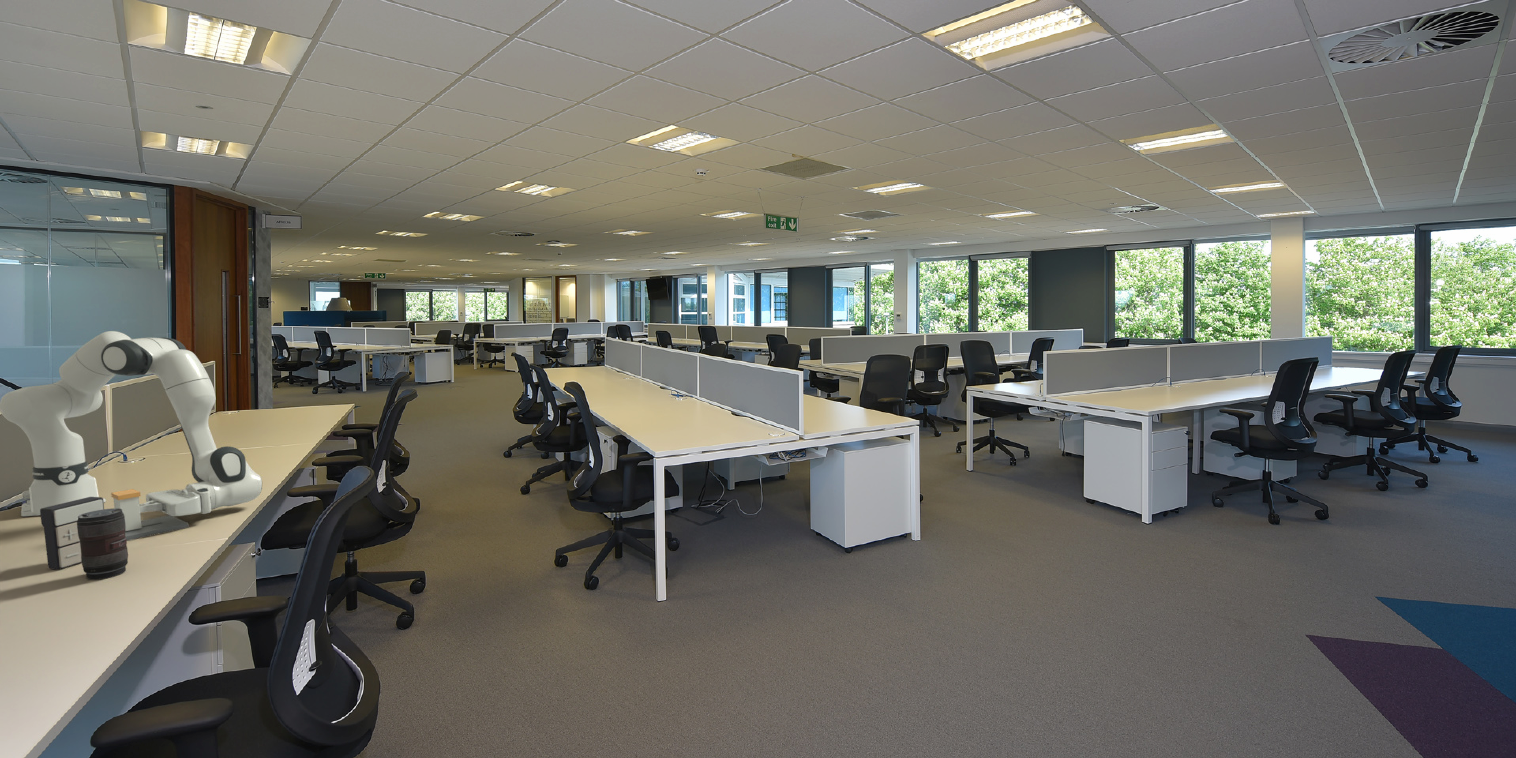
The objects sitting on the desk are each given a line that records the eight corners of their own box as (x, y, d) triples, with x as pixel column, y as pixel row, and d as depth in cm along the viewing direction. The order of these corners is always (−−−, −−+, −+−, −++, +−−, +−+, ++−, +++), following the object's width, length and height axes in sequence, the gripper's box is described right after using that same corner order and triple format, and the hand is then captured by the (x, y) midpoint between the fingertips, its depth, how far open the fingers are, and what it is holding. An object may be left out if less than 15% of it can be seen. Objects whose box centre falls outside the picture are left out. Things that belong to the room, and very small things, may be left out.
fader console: (57, 542, 183) (56, 537, 183) (169, 518, 203) (169, 514, 203) (73, 552, 175) (72, 547, 175) (188, 527, 195) (188, 522, 195)
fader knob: (114, 528, 189) (111, 492, 188) (136, 524, 193) (132, 489, 192) (121, 532, 186) (118, 495, 185) (143, 527, 190) (140, 492, 189)
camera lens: (126, 565, 167) (120, 505, 165) (132, 573, 162) (126, 511, 160) (80, 575, 161) (73, 513, 159) (85, 584, 156) (78, 520, 154)
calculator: (60, 570, 163) (53, 509, 162) (46, 569, 164) (39, 508, 163) (111, 554, 174) (105, 497, 172) (98, 553, 175) (92, 496, 173)
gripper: (182, 482, 208) (122, 492, 196) (210, 492, 197) (149, 503, 185) (184, 502, 208) (124, 513, 197) (212, 513, 198) (151, 526, 186)
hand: (136, 509), depth 191 cm, fingers closed, pressing on fader knob
